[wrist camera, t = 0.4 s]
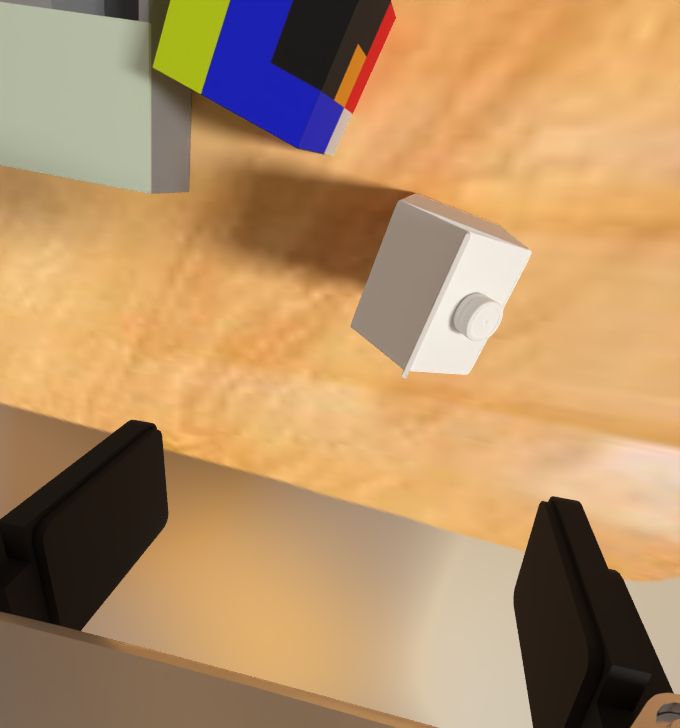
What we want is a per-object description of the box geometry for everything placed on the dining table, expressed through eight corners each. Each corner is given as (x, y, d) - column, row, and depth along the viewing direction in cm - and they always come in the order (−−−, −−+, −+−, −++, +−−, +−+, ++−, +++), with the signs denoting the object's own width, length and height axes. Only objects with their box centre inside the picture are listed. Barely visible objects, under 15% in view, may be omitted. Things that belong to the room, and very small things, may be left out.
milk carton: (382, 276, 40) (334, 350, 22) (415, 192, 37) (389, 202, 20) (461, 307, 39) (473, 407, 22) (500, 225, 36) (550, 265, 19)
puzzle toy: (333, 156, 37) (297, 148, 28) (224, 94, 37) (152, 67, 28) (395, 17, 33) (377, -44, 24) (272, -51, 33) (207, -139, 24)
